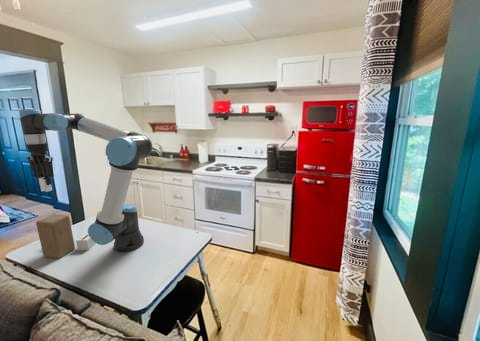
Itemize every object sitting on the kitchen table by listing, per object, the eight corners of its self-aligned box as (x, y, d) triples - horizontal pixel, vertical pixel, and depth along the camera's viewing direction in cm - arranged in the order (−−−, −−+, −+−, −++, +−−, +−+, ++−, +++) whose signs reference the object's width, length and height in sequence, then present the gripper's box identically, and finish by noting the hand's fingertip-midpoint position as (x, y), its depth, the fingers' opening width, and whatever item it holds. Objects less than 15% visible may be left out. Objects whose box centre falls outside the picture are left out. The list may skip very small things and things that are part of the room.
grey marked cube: (95, 244, 130) (94, 234, 128) (89, 250, 124) (87, 239, 123) (85, 244, 130) (83, 234, 128) (77, 250, 124) (75, 239, 123)
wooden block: (58, 259, 116) (51, 223, 111) (42, 257, 118) (34, 221, 113) (76, 248, 125) (69, 214, 121) (61, 246, 127) (54, 213, 123)
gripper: (57, 142, 110) (66, 189, 115) (33, 142, 114) (43, 187, 119) (40, 144, 103) (50, 194, 108) (15, 143, 107) (26, 192, 112)
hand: (46, 190), depth 114 cm, fingers open, 2 cm apart
